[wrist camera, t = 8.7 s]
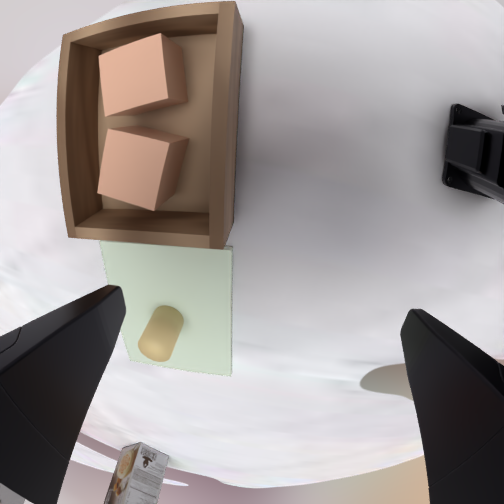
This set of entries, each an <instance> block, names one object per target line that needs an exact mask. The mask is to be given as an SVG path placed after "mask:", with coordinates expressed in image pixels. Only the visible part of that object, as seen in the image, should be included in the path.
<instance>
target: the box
mask: <svg viewBox="0 0 504 504" xmlns="http://www.w3.org/2000/svg"><path fill="white" fill-rule="evenodd" d="M243 28H244V26H243V23H242V20H241V17H240V14H239V11H238V8H237V5H236V2H235V1H223V2H206V3H194V4H185V5H177V6H170V7H163V8H157V9H152V10H147V11H142V12H137V13H133V14H128V15H124V16H120V17H116V18H113V19H109V20H105V21H102V22H99V23H95V24H92V25H89V26H86V27H83V28H80V29H78V30H75V31H72V32H70V33H67V34H64V35H63V38H62V44H61V52H60V61H59V72H58V86H57V150H58V165H59V176H60V186H61V194H62V202H63V209H64V215H65V221H66V227H67V233H68V238H81V239H93V240H106V241H119V242H131V243H144V244H156V245H169V246H181V247H194V248H206V249H219V250H223V249H224V247H225V244H226V241H227V239H228V236H229V233H230V230H231V228H232V225H233V222H234V194H235V169H236V147H237V126H238V107H239V90H240V73H241V57H242V43H243ZM159 33H161V34H163V35H164V36H166V37H167V38H169V39H170V40H172V41H173V42H174V43H176V44H177V45H179V46H180V47H181V48H182V55H183V64H184V72H185V80H186V88H187V95H188V102H185V103H181V104H176V105H172V106H168V107H163V108H159V109H155V110H152V111H148V112H144V113H141V114H137V115H131V116H110V117H105V113H104V105H103V97H102V88H101V79H100V67H99V56H100V55H102V54H104V53H106V52H109V51H111V50H114V49H116V48H119V47H121V46H124V45H127V44H129V43H132V42H135V41H138V40H141V39H144V38H147V37H150V36H153V35H156V34H159ZM135 125H137V126H141V127H146V128H150V129H155V130H159V131H163V132H167V133H171V134H175V135H179V136H183V137H187V138H189V141H188V144H187V148H186V151H185V155H184V159H183V163H182V166H181V170H180V174H179V178H178V182H177V186H176V190H175V194H174V195H173V196H172V197H170V198H169V199H168V200H167V201H165V202H164V203H163V204H162V205H161V206H159V207H158V208H157V209H156V210H155V211H152V210H149V209H146V208H143V207H140V206H137V205H133V204H130V203H127V202H124V201H121V200H118V199H114V198H111V197H108V196H105V195H102V194H99V193H97V192H98V184H99V177H100V170H101V164H102V158H103V152H104V146H105V141H106V136H107V131H108V129H110V128H118V127H126V126H135Z"/></svg>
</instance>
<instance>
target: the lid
mask: <svg viewBox="0 0 504 504" xmlns="http://www.w3.org/2000/svg"><path fill="white" fill-rule="evenodd" d="M100 247H101V252H102V257H103V262H104V267H105V272H106V276H107V281H108V285H116V286H120V287H121V288H122V291H123V295H124V300H125V305H126V315H125V318H124V321H123V323H122V326H121V329H120V330H121V333H122V337H123V340H124V343H125V346H126V349H127V352H128V355H129V358H130V361H134V362H139V363H144V364H149V365H154V366H160V367H165V368H171V369H177V370H184V371H190V372H197V373H205V374H213V375H221V376H231V373H232V251H233V247H230V246H225V247H224V249H223V250H219V249H206V248H194V247H181V246H169V245H156V244H144V243H131V242H119V241H106V240H100Z"/></svg>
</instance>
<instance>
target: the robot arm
mask: <svg viewBox="0 0 504 504" xmlns="http://www.w3.org/2000/svg"><path fill="white" fill-rule="evenodd" d="M501 107H502V112H503V114H504V105H501ZM457 108H458V109H459V112H457ZM445 158H446V161H445V167H444V173H443V183H444V185H446V186H448V187H452V188H455V189H459V190H463V191H467V192H471V193H474V194H478V195H481V196H485V197H488V198H492V199H496V200H497V201H499V202H501V203H503V204H504V122H502V121H495V120H493V119H491V118H489V117H487V116H485V115H483V114H481V113H479V112H476V111H474V110H472V109H470V108H467V107H465V106H463V105H460V104H453V105H452V108H451V119H450V127H449V134H448V142H447V150H446V157H445ZM449 177H450V181H449V182H448V178H449ZM125 315H126V305H125V300H124V295H123V291H122V288H121V287H120V286H116V285H107V286H105V287H102V288H100V289H98V290H96V291H94V292H92V293H89V294H87V295H85V296H83V297H81V298H79V299H77V300H75V301H72V302H70V303H68V304H66V305H64V306H62V307H60V308H58V309H56V310H54V311H51V312H49V313H47V314H45V315H43V316H41V317H39V318H37V319H35V320H33V321H31V322H29V323H27V324H25V325H23V326H22V327H19V328H17V329H15V330H13V331H11V332H9V333H7V334H4V335H2V336H0V504H23V503H24V501H25V499H27V500H28V501H30V502H32V503H34V504H57V500H58V497H59V494H60V490H61V487H62V483H63V480H64V477H65V474H66V470H67V467H68V464H69V460H70V458H71V455H72V452H73V449H74V446H75V443H76V440H77V437H78V435H79V432H80V429H81V427H82V424H83V422H84V419H85V416H86V414H87V411H88V409H89V406H90V404H91V401H92V399H93V396H94V394H95V392H96V389H97V387H98V384H99V382H100V380H101V377H102V375H103V373H104V371H105V368H106V366H107V364H108V362H109V359H110V357H111V355H112V352H113V350H114V347H115V344H116V341H117V338H118V335H119V332H120V329H121V326H122V323H123V321H124V318H125ZM400 335H401V341H402V347H403V352H404V358H405V364H406V370H407V375H408V380H409V383H410V388H411V392H412V396H413V400H414V404H415V409H416V413H417V418H418V423H419V428H420V433H421V438H422V444H423V450H424V456H425V462H426V470H427V477H428V486H429V497H430V504H504V366H503V365H502V364H500V363H498V362H497V361H496V360H495V359H493V358H492V357H491V356H489V355H488V354H487V353H485V352H484V351H482V350H481V349H480V348H478V347H477V346H475V345H474V344H473V343H471V342H470V341H468V340H467V339H465V338H464V337H463V336H461V335H460V334H458V333H457V332H455V331H454V330H452V329H451V328H449V327H448V326H447V325H445V324H444V323H442V322H441V321H439V320H438V319H436V318H435V317H433V316H432V315H430V314H429V313H427V312H426V311H424V310H423V309H411V310H410V311H409V312H408V314H407V316H406V319H405V321H404V324H403V326H402V328H401V333H400Z"/></svg>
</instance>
